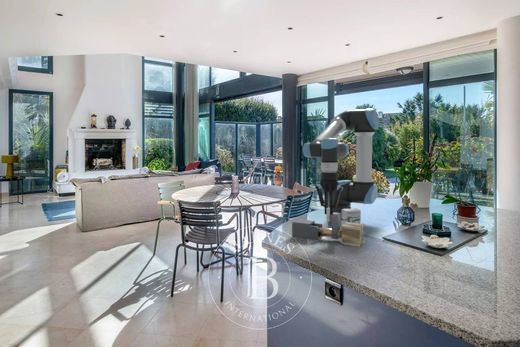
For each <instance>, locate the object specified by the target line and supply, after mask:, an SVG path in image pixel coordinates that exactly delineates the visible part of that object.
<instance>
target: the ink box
mask: <svg viewBox="0 0 520 347" xmlns="http://www.w3.org/2000/svg"><path fill="white" fill-rule="evenodd" d="M361 215H362V210H361V209H359V208H351V209H342V218H341V230H342V225H343V224H345V223H346V222H350V223H359V224H361V218H362V217H361Z"/></svg>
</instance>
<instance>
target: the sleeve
mask: <svg viewBox="0 0 520 347" xmlns="http://www.w3.org/2000/svg"><path fill="white" fill-rule="evenodd" d="M318 227H322V228H323V223H318V222H316V221H315V220H311V219H310V220H309V219H301V218H300V219H299V218H297V219H295V220H293V221H292V222H291V237H292V238H295V239H296V238H297V239H304V240H310V241H311V240H312V241H317V240H318V241H319V240H320V239H322V238H323V236H318ZM321 237H322V238H321Z"/></svg>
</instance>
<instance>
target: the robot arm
mask: <svg viewBox="0 0 520 347" xmlns="http://www.w3.org/2000/svg"><path fill="white" fill-rule="evenodd" d="M379 117H380V116H379V115H378V112H377V110H376V109H374V108H359V109H348V110H345V111H342V112H340V113H339V114H337V115H335V117H333V118H332V119H331V120H330V123H329V125H327V127H326V128H325V129H324V130H323V131H322V132H321V133H320V134H319V135H318V136H317V137H316V138H315V139H314V140H313V141H311V142H305V143H304V144H303V147H302V154H303V156H304V157H306V158H310V159H311V158H313V159H314V158H315V159H316V158H321V160H320V162H321V163H320V165H321V166H320V168H321V169H320V171H321V172H320V174H321V175H320V183H319V184H318V185H315V190H317V195H318V200H319V203H320V207H323V208H324V215H326V218H325V219H326V220H325V221H326V223H331V222H332V214H333V213H334V212H336V213H341V218H342V209H352V206H351V205H352V204H354V203H356V204H364V205H372V204H374V203H375V201H376V200H377V197H378V191H379V189H378V185H377V184H375V180H374V179H373V176H372V175H373V173H372V171H373V170H372V168H373V166H372V165H373V136H374V135H375V134H376V130H378V129H379V128H380V119H379ZM346 131H353V134H354V135H355V136H356V146H355V147H356V150H355V151H356V154H355V155H356V158H355V159H356V160H355V162H356V163H355V168H356V169H355V178H354V179H353V180H350V179H345V180H344V179H343V180H338V179H339V178H338V174H339V173H338V170H339V169H338V168H339V167H338V165H339V164H338V163H339V161H338V159H342V158H345V157H346V156H347V155H349V151H350V150H349V145H348V144H346V143H345V142H341V141H339V139H338V138H337V137H338V136H339V135H340V134H342V133H344V132H346ZM322 189H323V190H322ZM323 194H324V195H323Z"/></svg>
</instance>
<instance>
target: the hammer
mask: <svg viewBox="0 0 520 347" xmlns="http://www.w3.org/2000/svg"><path fill="white" fill-rule="evenodd" d="M318 236H322V237H327V238H331V240H339V239H341V240H342V230H341V213H336V212H334V213H333V214H332V220H331V228H328V227H323V226H322V227H318Z"/></svg>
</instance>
